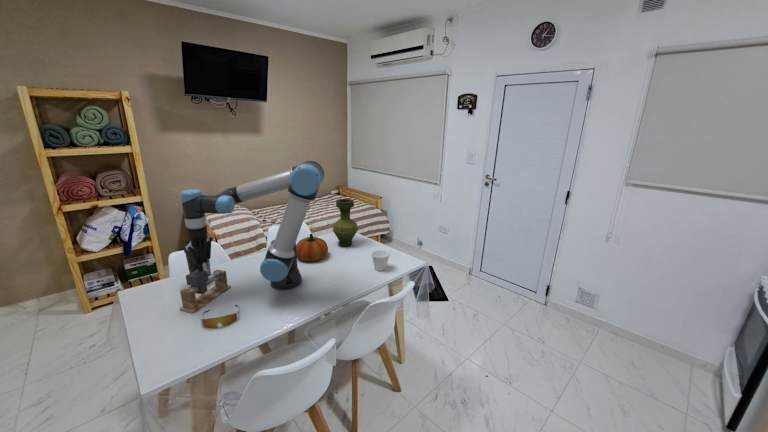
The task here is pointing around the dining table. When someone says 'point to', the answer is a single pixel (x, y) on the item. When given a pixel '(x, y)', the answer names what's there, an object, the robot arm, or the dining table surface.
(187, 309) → the rail
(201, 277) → the collar
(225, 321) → the sunglasses
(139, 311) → the dining table surface
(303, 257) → the pumpkin
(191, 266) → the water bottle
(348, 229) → the vase
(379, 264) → the cup
